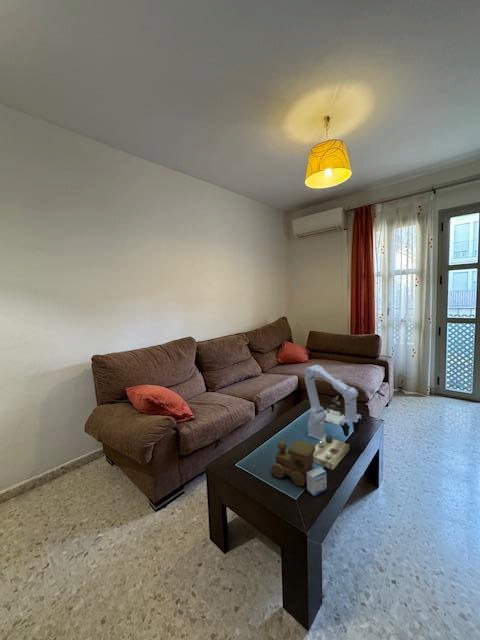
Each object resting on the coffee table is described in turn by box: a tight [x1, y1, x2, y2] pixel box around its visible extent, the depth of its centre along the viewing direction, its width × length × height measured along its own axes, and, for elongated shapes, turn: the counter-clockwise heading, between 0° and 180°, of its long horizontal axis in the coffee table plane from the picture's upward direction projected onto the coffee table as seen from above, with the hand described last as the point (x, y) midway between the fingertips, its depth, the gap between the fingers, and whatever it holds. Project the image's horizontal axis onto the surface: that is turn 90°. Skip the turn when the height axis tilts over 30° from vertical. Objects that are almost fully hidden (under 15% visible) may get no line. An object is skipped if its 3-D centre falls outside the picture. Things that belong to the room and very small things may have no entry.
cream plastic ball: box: [325, 451, 331, 458], centre depth 132 cm, size 3×3×3 cm
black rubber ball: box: [325, 434, 334, 442], centre depth 147 cm, size 4×4×4 cm
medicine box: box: [306, 466, 328, 497], centre depth 114 cm, size 8×4×9 cm, turn 117°
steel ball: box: [317, 440, 324, 447], centre depth 143 cm, size 3×3×3 cm
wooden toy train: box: [270, 439, 316, 487], centre depth 124 cm, size 20×11×17 cm, turn 54°
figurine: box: [324, 396, 345, 425], centre depth 180 cm, size 20×18×16 cm
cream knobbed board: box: [313, 437, 350, 471], centre depth 140 cm, size 14×22×3 cm, turn 137°
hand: (351, 433), depth 141 cm, fingers open, 7 cm apart
